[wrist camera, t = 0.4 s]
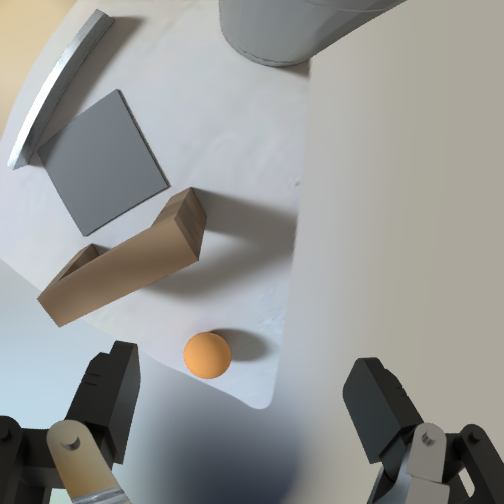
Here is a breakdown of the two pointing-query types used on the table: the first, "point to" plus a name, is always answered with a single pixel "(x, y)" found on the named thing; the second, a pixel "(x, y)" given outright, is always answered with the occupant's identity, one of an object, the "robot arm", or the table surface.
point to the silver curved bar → (57, 86)
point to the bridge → (128, 262)
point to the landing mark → (101, 164)
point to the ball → (207, 355)
